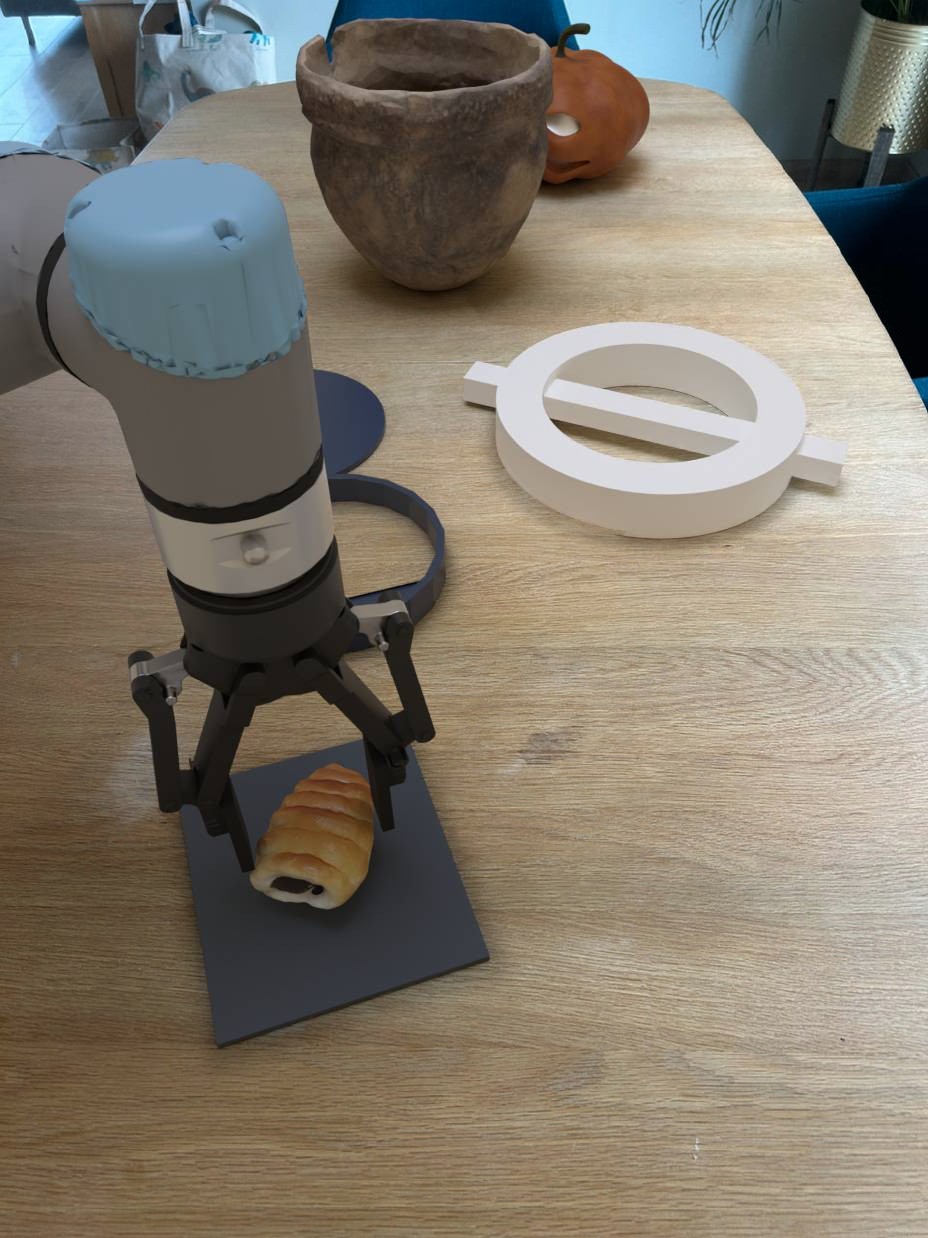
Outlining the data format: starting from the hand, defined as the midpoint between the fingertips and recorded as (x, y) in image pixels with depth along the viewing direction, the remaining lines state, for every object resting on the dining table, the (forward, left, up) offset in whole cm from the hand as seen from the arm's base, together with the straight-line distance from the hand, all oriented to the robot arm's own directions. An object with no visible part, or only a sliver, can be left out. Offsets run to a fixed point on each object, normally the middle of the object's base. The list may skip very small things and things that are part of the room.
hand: (314, 831), depth 60 cm
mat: (0, 0, -4) cm, 4 cm away
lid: (-48, +7, -4) cm, 49 cm away
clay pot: (-73, +30, -5) cm, 79 cm away
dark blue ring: (-27, +7, -4) cm, 28 cm away
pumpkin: (-99, +56, -5) cm, 114 cm away
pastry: (0, 0, -2) cm, 2 cm away
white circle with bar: (-35, +39, -5) cm, 53 cm away
